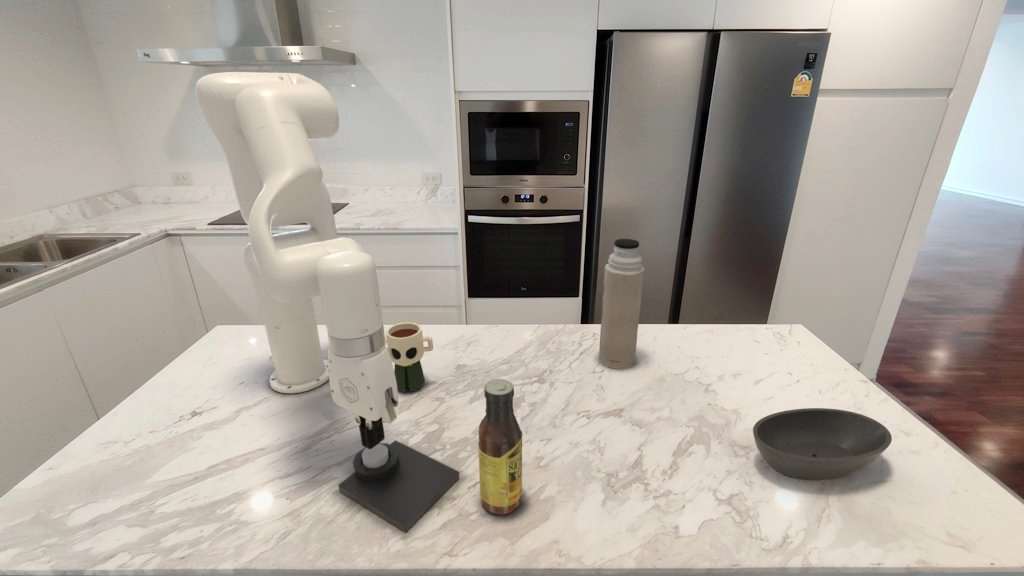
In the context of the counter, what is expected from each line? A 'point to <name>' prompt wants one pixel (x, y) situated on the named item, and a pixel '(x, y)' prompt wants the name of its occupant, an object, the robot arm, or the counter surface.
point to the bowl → (819, 442)
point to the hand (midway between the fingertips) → (373, 442)
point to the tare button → (375, 456)
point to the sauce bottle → (500, 450)
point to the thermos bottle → (621, 305)
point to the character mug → (407, 354)
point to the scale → (399, 485)
